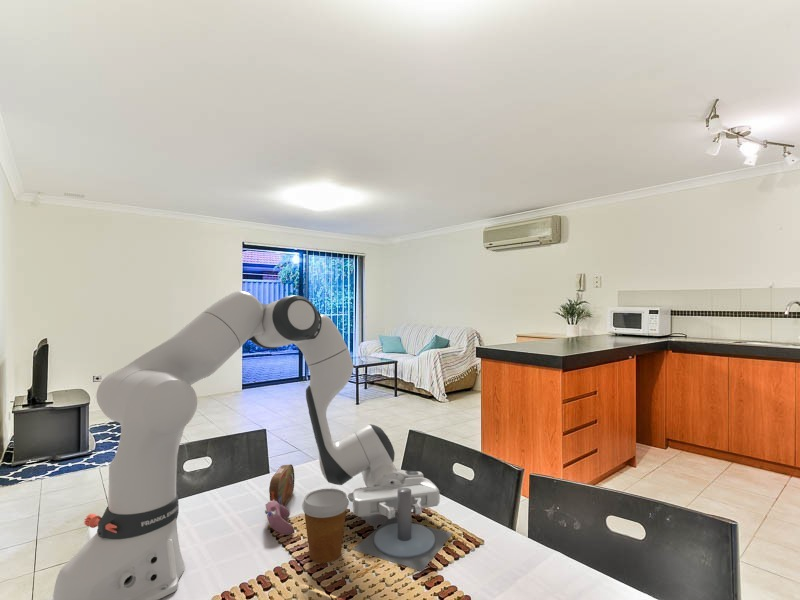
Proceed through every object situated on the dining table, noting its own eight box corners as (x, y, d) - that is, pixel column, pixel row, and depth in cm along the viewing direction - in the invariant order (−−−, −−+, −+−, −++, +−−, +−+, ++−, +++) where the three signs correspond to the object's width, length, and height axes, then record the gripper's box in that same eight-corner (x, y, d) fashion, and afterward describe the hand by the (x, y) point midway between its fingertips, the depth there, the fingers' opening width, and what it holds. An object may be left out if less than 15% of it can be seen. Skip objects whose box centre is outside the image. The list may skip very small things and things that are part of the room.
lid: (418, 564, 85) (418, 509, 85) (362, 547, 91) (362, 495, 91) (443, 534, 96) (443, 485, 96) (392, 521, 102) (392, 475, 103)
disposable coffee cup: (305, 574, 82) (305, 510, 83) (298, 549, 91) (298, 491, 92) (354, 564, 86) (354, 502, 86) (342, 540, 95) (342, 485, 95)
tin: (279, 515, 107) (279, 480, 107) (266, 515, 107) (267, 480, 107) (295, 490, 122) (295, 459, 122) (284, 490, 122) (284, 459, 122)
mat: (422, 573, 83) (422, 571, 83) (352, 551, 90) (352, 549, 90) (452, 535, 97) (452, 533, 97) (390, 519, 104) (390, 517, 104)
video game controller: (273, 525, 105) (260, 501, 104) (291, 513, 106) (277, 489, 105) (277, 545, 95) (262, 519, 95) (296, 533, 97) (281, 507, 96)
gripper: (346, 479, 103) (357, 504, 90) (427, 470, 109) (448, 492, 96) (346, 506, 103) (357, 535, 90) (427, 496, 109) (448, 521, 96)
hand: (405, 513), depth 93 cm, fingers open, 5 cm apart
